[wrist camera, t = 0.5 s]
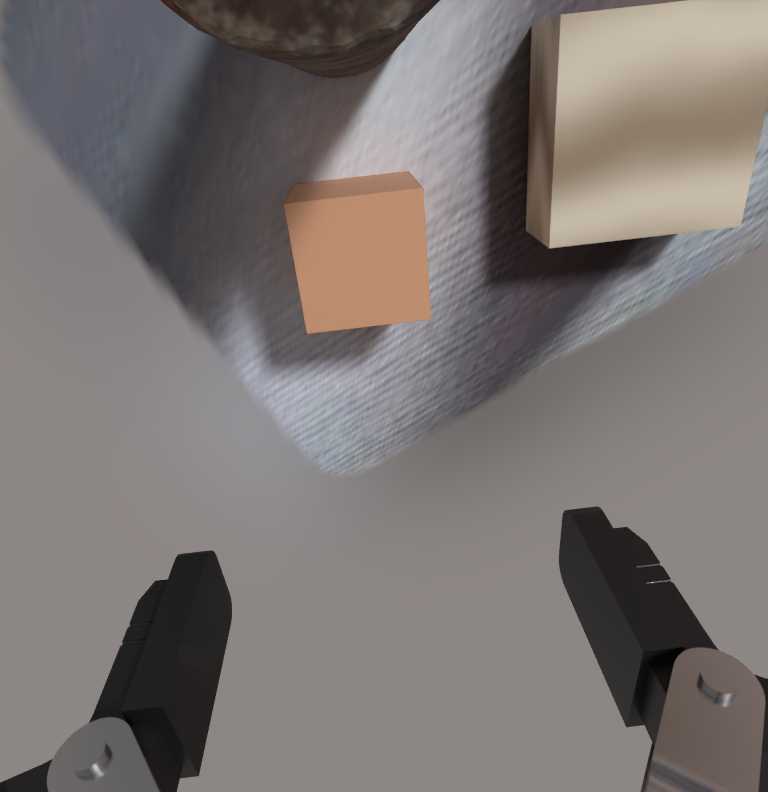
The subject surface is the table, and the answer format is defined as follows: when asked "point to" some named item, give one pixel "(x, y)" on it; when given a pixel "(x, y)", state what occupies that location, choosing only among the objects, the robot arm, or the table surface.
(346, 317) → the terracotta cube
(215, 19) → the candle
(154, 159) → the table surface
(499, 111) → the table surface
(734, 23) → the oak plinth
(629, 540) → the robot arm
